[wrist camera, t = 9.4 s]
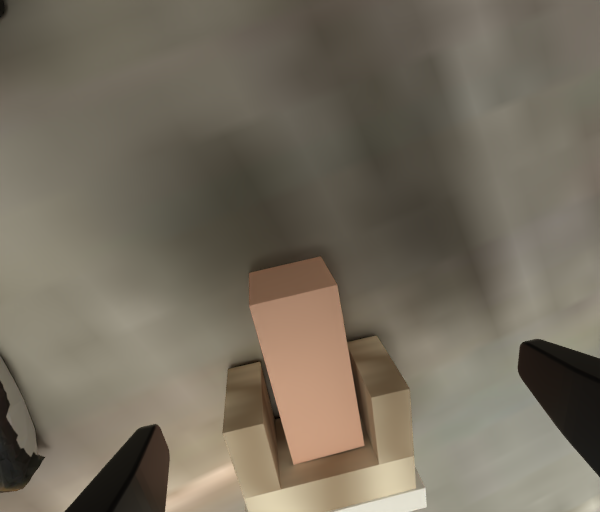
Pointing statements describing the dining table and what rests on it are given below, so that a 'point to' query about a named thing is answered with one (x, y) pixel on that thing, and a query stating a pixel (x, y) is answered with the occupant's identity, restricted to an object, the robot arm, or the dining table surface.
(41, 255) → the dining table surface
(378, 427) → the block
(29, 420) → the statue
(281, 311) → the peg
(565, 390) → the robot arm
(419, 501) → the backstop
